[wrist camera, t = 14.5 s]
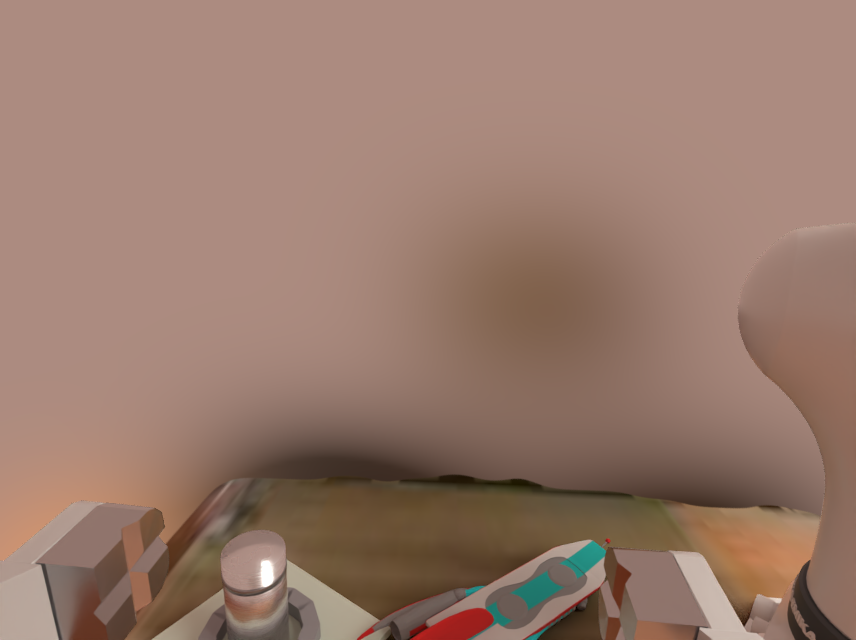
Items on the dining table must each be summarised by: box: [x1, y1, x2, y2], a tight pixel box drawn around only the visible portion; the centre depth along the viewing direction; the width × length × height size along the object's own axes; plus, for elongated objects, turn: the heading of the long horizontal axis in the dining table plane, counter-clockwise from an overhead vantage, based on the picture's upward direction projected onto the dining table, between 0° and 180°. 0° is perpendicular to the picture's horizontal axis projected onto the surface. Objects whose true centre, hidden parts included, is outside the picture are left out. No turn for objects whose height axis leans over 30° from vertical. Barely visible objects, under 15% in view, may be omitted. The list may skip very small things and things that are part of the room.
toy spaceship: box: [357, 539, 610, 640], centre depth 50 cm, size 27×11×5 cm, turn 130°
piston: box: [221, 530, 290, 640], centre depth 45 cm, size 5×5×10 cm
